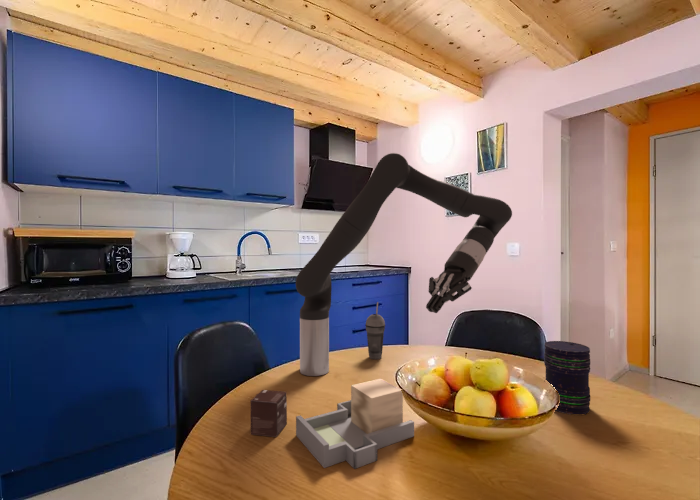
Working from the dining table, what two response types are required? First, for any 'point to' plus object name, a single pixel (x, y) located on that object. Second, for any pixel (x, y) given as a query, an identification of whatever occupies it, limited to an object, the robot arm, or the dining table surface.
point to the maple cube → (376, 405)
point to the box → (268, 413)
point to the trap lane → (346, 437)
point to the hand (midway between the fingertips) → (431, 310)
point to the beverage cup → (375, 335)
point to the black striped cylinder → (569, 375)
